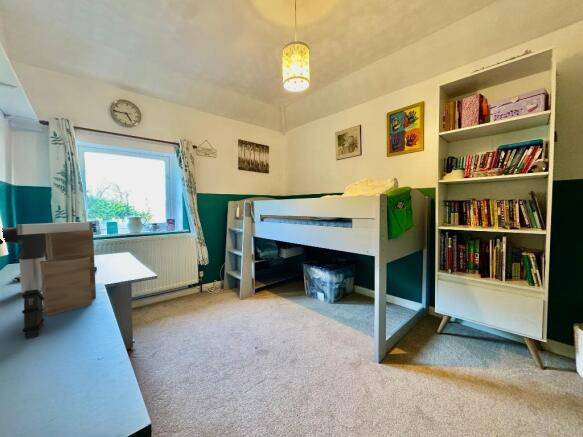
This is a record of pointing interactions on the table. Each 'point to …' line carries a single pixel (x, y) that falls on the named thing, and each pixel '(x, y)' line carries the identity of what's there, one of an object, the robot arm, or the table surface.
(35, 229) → the bar
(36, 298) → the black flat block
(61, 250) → the wooden plank crate
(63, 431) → the table surface
